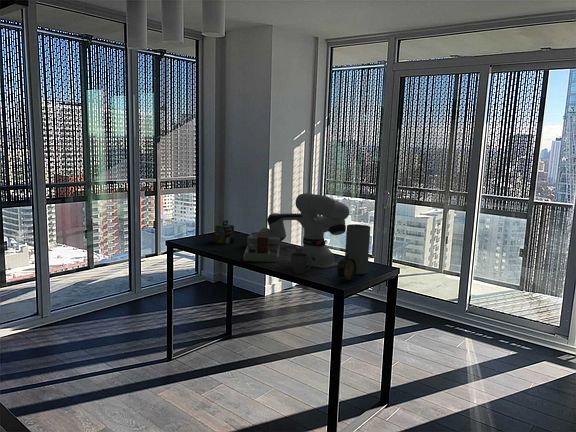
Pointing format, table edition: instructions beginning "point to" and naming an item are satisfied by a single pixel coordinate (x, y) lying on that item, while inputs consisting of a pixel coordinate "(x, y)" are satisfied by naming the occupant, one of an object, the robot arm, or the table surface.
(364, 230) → the cylinder vase
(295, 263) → the mug
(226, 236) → the chalk box
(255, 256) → the box
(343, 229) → the robot arm
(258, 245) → the walnut block
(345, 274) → the alarm clock
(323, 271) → the table surface
